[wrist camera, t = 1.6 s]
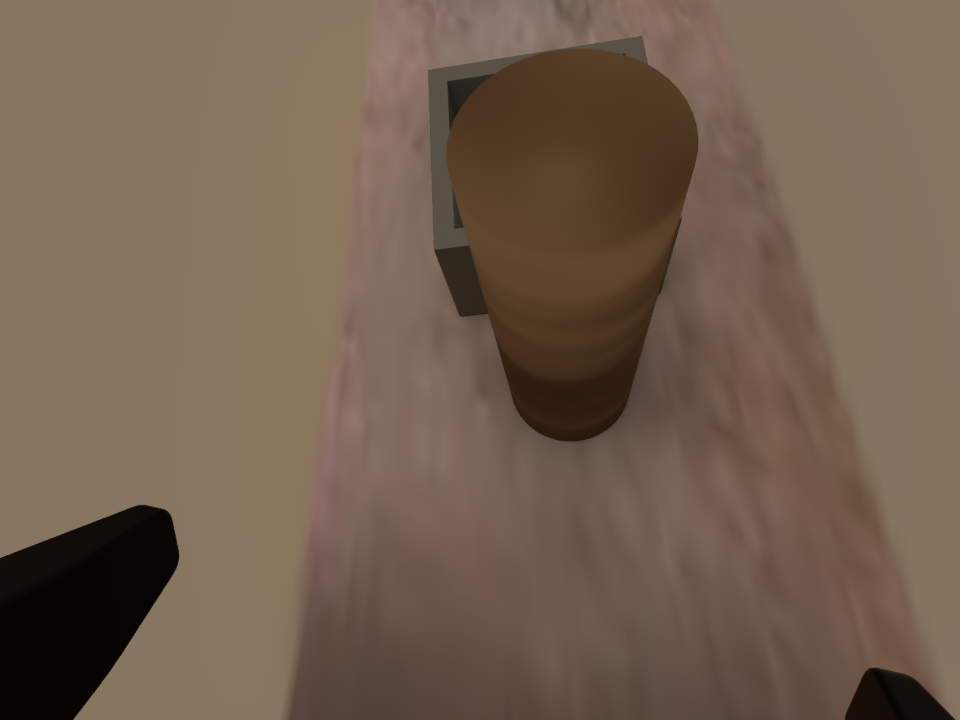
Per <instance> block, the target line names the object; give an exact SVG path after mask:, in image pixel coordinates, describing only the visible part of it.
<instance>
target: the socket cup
mask: <svg viewBox="0 0 960 720" xmlns="http://www.w3.org/2000/svg"><path fill="white" fill-rule="evenodd" d="M564 49H598V50H605V51H610V52H615V53H619V54H623V55H626V56H629V57H632V58H634V59H637V60H639V61H641V62H643V63H646V64H647V65H648V62H647V57H646V53H645V48H644V44H643V39H642V36H639V37H633V38H627V39H620V40H614V41H608V42H601V43H595V44H589V45H583V46H576V47H570V48H564ZM558 50H563V49H558ZM551 51H555V50H551ZM545 52H550V51H545ZM545 52H539V53H532V54H526V55H520V56H514V57H507V58H501V59H495V60H488V61H482V62H476V63H470V64H463V65H457V66H451V67H444V68H438V69H432V70H428V82H429V112H430V142H431V172H432V202H433V232H434V251H435V253H436V256H437V259H438V261H439V264H440V266H441V269H442V271H443V274H444V277H445V279H446V282H447V284H448V287H449V289H450V292H451V295H452V297H453V300H454V302H455V305H456V307H457V310H458V313H459V315H460V316H466V315H475V314H484V313H488V310H487V307H486V303H485V300H484V296H483V293H482V289H481V286H480V282H479V279H478V275H477V272H476V268H475V265H474V261H473V258H472V254H471V251H470V247H469V244H468V240H467V237H466V233H465V230H464V226H463V223H462V219H461V216H460V212H459V209H458V205H457V202H456V198H455V195H454V191H453V188H452V184H451V181H450V177H449V173H448V170H447V160H446V150H447V141H448V137H449V132H450V129H451V127H452V124H453V121H454V119H455V117H456V115H457V113H458V112H459V110H460V108H461V107H462V105H463V104H464V103H465V101H466V100H467V98H468V97H469V96H470V95H471V94H472V93H473V92H474V91H475V90H476V89H477V88H478V87H479V86H480V85H481V84H482V83H483V82H485V81H486V80H487V79H488V78H489V77H491V76H492V75H494V74H495V73H497V72H498V71H500V70H501V69H503V68H505V67H507V66H509V65H511V64H513V63H515V62H517V61H520V60H522V59H525V58H527V57H531V56H534V55H537V54H541V53H545ZM681 220H682V217H681V215H680V219H679V222H678V226H677V229H676V233H675V236H674V240H673V243H672V247H671V250H670V254H669V257H668V261H667V264H666V268H665V271H664V275H663V278H662V282H661V285H660V289H659V292H658V294H659V293H660V292H661V289H662V285H663V282H664V278H665V275H666V271H667V268H668V264H669V261H670V258H671V254H672V251H673V247H674V244H675V240H676V237H677V234H678V230H679V227H680V223H681Z"/></svg>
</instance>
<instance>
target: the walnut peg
mask: <svg viewBox="0 0 960 720" xmlns="http://www.w3.org/2000/svg"><path fill="white" fill-rule="evenodd" d="M697 152H698V133H697V126H696V122H695V119H694V116H693V112H692V110H691V108H690V106H689V104H688V102H687V100H686V99H685V98H684V96H683V95H682V93H681V92H680V91H679V89H678V88H677V87H676V86H675V85H674V84H673V83H672V82H671V81H670V80H669V79H668V78H667V77H665V76H664V75H663V74H661V73H660V72H659V71H657V70H656V69H654V68H652V67H651V66H649V65H647V64H646V63H643V62H641V61H639V60H637V59H634V58H632V57H629V56H626V55H623V54H619V53H615V52H610V51H605V50H598V49H563V50H555V51H550V52H545V53H541V54H537V55H534V56H531V57H527V58H525V59H522V60H520V61H517V62H515V63H513V64H511V65H509V66H507V67H505V68H503V69H501V70H500V71H498V72H497V73H495V74H494V75H492V76H491V77H489V78H488V79H487V80H486V81H485V82H483V83H482V84H481V85H480V86H479V87H478V88H477V89H476V90H475V91H474V92H473V93H472V94H471V95H470V96H469V97H468V98H467V100H466V101H465V103H464V104H463V105H462V107H461V108H460V110H459V112H458V113H457V115H456V117H455V119H454V121H453V124H452V127H451V129H450V132H449V137H448V141H447V150H446V160H447V170H448V173H449V177H450V181H451V184H452V188H453V191H454V195H455V198H456V202H457V205H458V209H459V212H460V216H461V219H462V223H463V226H464V230H465V233H466V237H467V240H468V244H469V247H470V251H471V254H472V258H473V261H474V265H475V268H476V272H477V275H478V279H479V282H480V286H481V289H482V293H483V296H484V300H485V303H486V307H487V310H488V314H489V317H490V321H491V324H492V328H493V331H494V335H495V338H496V342H497V345H498V349H499V352H500V356H501V359H502V363H503V367H504V370H505V374H506V377H507V381H508V384H509V388H510V391H511V395H512V398H513V402H514V404H515V407H516V409H517V411H518V412H519V414H520V416H521V417H522V418H523V420H524V421H525V422H526V423H527V424H528V425H529V426H530V427H531V428H533V429H534V430H536V431H537V432H539V433H541V434H542V435H544V436H547V437H549V438H552V439H556V440H562V441H579V440H585V439H589V438H592V437H594V436H597V435H599V434H600V433H602V432H604V431H605V430H607V429H608V428H609V427H611V426H612V425H613V424H614V423H615V422H616V421H617V419H618V418H619V417H620V415H621V414H622V412H623V410H624V408H625V406H626V403H627V400H628V397H629V393H630V390H631V386H632V383H633V379H634V376H635V372H636V369H637V365H638V362H639V359H640V355H641V352H642V348H643V345H644V341H645V338H646V334H647V331H648V327H649V324H650V320H651V317H652V313H653V310H654V306H655V303H656V299H657V296H658V292H659V289H660V285H661V282H662V278H663V275H664V271H665V268H666V264H667V261H668V257H669V254H670V250H671V247H672V243H673V240H674V236H675V233H676V229H677V226H678V222H679V219H680V215H681V212H682V208H683V205H684V201H685V198H686V194H687V191H688V187H689V184H690V180H691V177H692V173H693V170H694V166H695V162H696V157H697Z"/></svg>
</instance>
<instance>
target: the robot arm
mask: <svg viewBox="0 0 960 720" xmlns="http://www.w3.org/2000/svg"><path fill="white" fill-rule="evenodd" d="M178 561H179V550H178V545H177V540H176V535H175V531H174V526H173V520H172V517H171V515H170V514H169V512H168V511H166V510H165V509H161V508H156V507H152V506H147V505H138V506H134V507H131V508H129V509H126V510H124V511H121V512H118V513H116V514H113V515H111V516H108V517H106V518H103V519H100V520H98V521H95V522H92V523H90V524H88V525H85V526H82V527H80V528H77V529H74V530H72V531H69V532H67V533H64V534H61V535H59V536H56V537H54V538H51V539H48V540H46V541H43V542H40V543H38V544H35V545H33V546H30V547H28V548H25V549H22V550H20V551H17V552H14V553H12V554H10V555H7V556H4V557H2V558H0V720H73V719H74V718H75V717H76V715H77V714H78V713H79V712H80V710H81V709H82V708H83V706H84V705H85V704H86V702H87V701H88V700H89V698H90V697H91V696H92V695H93V693H94V692H95V691H96V689H97V688H98V687H99V685H100V684H101V683H102V681H103V680H104V679H105V677H106V676H107V675H108V673H109V672H110V671H111V669H112V668H113V666H114V665H115V663H116V661H117V660H118V659H119V657H120V656H121V654H122V653H123V651H124V650H125V648H126V646H127V645H128V643H129V642H130V640H131V639H132V637H133V636H134V634H135V633H136V631H137V630H138V628H139V626H140V625H141V623H142V622H143V620H144V619H145V617H146V616H147V614H148V612H149V611H150V609H151V608H152V606H153V605H154V603H155V602H156V600H157V599H158V597H159V595H160V594H161V592H162V591H163V589H164V588H165V586H166V585H167V583H168V582H169V580H170V578H171V577H172V575H173V574H174V572H175V570H176V568H177V565H178ZM845 720H955V719H954V718H953V717H952V716H951V715H950V714H949V713H948V712H947V710H946V709H945V708H944V707H943V706H942V705H941V704H940V703H939V702H938V701H937V700H936V699H935V698H934V697H933V696H932V695H931V694H930V693H929V692H928V691H927V690H926V689H925V688H924V687H923V686H922V685H921V684H920V683H919V682H918V681H917V680H915V679H914V678H912V677H911V676H909V675H906V674H902V673H898V672H893V671H889V670H884V669H880V668H870V669H868V670H867V671H866V672H865V673H864V675H863V677H862V679H861V681H860V683H859V686H858V688H857V690H856V692H855V694H854V697H853V699H852V701H851V703H850V706H849V708H848V710H847V713H846V716H845Z"/></svg>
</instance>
